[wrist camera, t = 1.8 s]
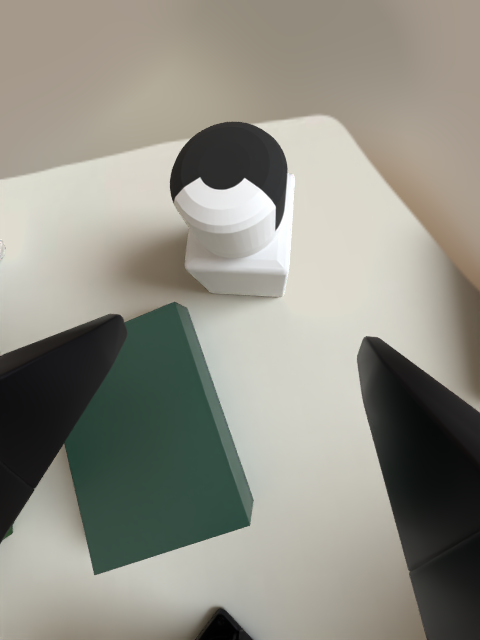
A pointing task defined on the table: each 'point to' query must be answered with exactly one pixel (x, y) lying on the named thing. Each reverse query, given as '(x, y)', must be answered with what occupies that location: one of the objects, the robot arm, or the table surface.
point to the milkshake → (2, 249)
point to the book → (156, 449)
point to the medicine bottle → (235, 209)
